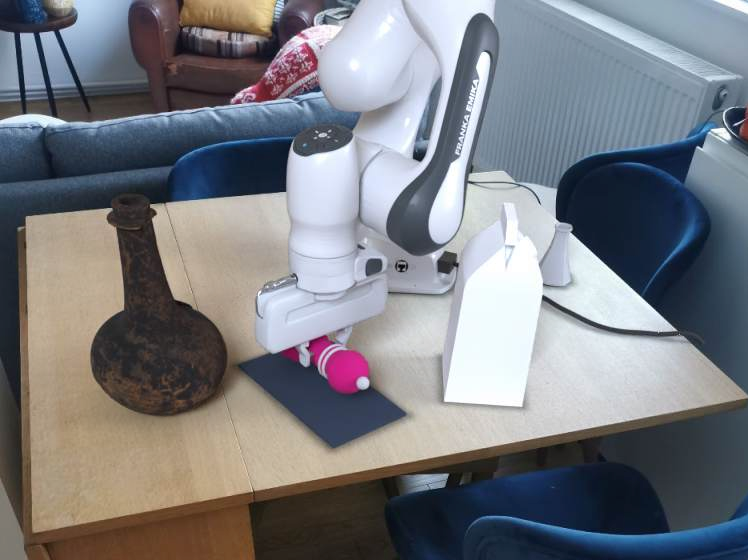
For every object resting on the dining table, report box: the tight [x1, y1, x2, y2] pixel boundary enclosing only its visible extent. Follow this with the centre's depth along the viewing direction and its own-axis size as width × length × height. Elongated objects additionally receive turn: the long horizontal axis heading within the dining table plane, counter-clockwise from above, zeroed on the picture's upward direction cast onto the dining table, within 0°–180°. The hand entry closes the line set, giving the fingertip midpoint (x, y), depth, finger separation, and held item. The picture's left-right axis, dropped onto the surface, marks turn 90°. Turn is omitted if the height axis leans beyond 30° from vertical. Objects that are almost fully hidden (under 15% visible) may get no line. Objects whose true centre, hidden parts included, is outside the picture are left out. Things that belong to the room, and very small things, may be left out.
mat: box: [237, 352, 407, 449], centre depth 111 cm, size 24×13×1 cm, turn 39°
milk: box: [441, 202, 544, 408], centre depth 106 cm, size 12×12×26 cm
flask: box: [538, 222, 574, 287], centre depth 138 cm, size 7×7×10 cm
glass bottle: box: [89, 193, 228, 417], centre depth 98 cm, size 18×18×28 cm
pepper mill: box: [280, 334, 370, 394], centre depth 107 cm, size 7×7×20 cm
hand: (323, 357), depth 107 cm, fingers closed on pepper mill, 4 cm apart
